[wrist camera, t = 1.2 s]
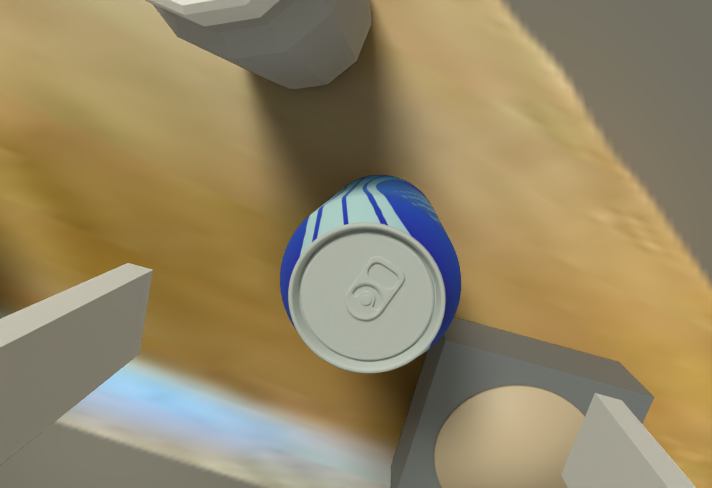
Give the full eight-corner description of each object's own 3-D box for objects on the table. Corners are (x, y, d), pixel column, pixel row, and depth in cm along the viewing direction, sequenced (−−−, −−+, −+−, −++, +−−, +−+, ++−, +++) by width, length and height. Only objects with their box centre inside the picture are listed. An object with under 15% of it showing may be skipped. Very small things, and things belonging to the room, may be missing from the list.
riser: (391, 466, 39) (389, 515, 34) (439, 313, 36) (446, 341, 31) (555, 512, 39) (579, 570, 34) (619, 362, 36) (656, 399, 30)
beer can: (449, 268, 35) (490, 368, 20) (343, 296, 36) (302, 412, 21) (420, 159, 34) (438, 173, 18) (310, 192, 35) (238, 232, 19)
